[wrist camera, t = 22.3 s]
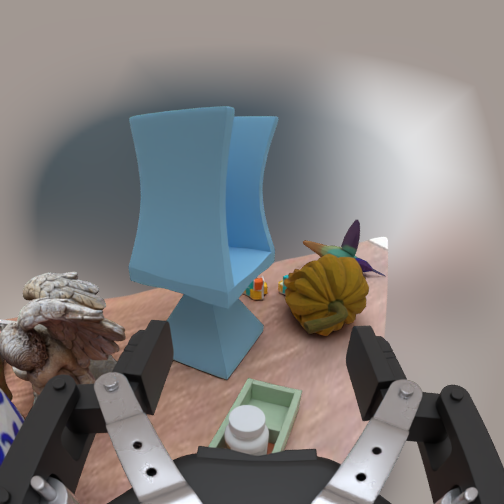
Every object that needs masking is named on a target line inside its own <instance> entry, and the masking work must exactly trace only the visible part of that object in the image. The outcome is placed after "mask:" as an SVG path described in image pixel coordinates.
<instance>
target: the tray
mask: <svg viewBox="0 0 504 504" xmlns="http://www.w3.org/2000/svg"><path fill="white" fill-rule="evenodd" d="M301 394H302V390H297V389H292V388H287V387H283V386H279V385H274V384H270V383H266V382H262V381H258V380H254V379H250V378H248V379H247V381H246V383H245V385H244V387H243V388H242V390H241V392H240V394H239V395H238V397H237V399H236V401H235V402H234V404H233V406H232V408H231V409H230V411H229V413H228V414H227V416H226V418H225V420H224V421H223V423H222V425H221V426H220V428H219V430H218V431H217V433H216V435H215V436H214V438H213V440H212V441H211V443H210V445H209V446H208V447H214V448H226V446H225V434H224V433H225V428H226V426H227V425H228V424H229V415H230V413H231V411H232V410H233V409H235V408H236V407H238V406H242V405H252V406H255V407H258V408H259V409H261V410H262V411H263V413H264V414H265V418H266V421H265V425H266V426H267V428H268V431H269V438H268V447H267V454H271V453H276V452H281V451H284V448H285V446H286V443H287V440H288V437H289V435H290V432H291V429H292V426H293V424H294V421H295V418H296V415H297V412H298V409H299V405H300V400H301Z"/></svg>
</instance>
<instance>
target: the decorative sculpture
mask: <svg viewBox="0 0 504 504" xmlns="http://www.w3.org/2000/svg"><path fill="white" fill-rule="evenodd" d="M359 236H360V223H359V221H358V220H355V221H354V223H353V224H352V225H351V227H350V228H349V230H348V232H347V233H346V235H345V237H344V240H343V243H342V246H341V247H342V248H341V247H337V246H327V245H323V244H319V243H315V242H311V241H306V240H305V241H303V244H304V245H305V246H307V247H308V248H310V249H311V250H312V251H314V252H315V253H316V254H318V255H319V256H320V257H323V256H324V255H326V254H332V255H334V256H336V257H337V258H339V257H351V258H355V259H356V261H357V262H358V264H359V265H360V267H361V269H362V272H369V271H373V272H375V273H378V274H381V275H383V274H382V273H380V272H378V271H376V270H374V269H373V268H372V267H371V266H370V265H369V264H368V262H367V261H365V260H362V259H360V258H357V257H356V256H355V254H356V251H357V248H358V243H359ZM383 276H385V275H383Z"/></svg>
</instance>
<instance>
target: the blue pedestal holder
mask: <svg viewBox="0 0 504 504" xmlns="http://www.w3.org/2000/svg"><path fill="white" fill-rule="evenodd" d="M129 120H130V126H131V131H132V136H133V140H134V144H135V149H136V155H137V161H138V168H139V175H140V188H141V204H140V217H139V223H138V229H137V234H136V239H135V244H134V248H133V252H132V256H131V260H130V264H129V273H130V280H131V281H134V282H137V283H140V284H144V285H147V286H153V287H159V288H165V289H168V290H172V291H175V292H179V293H182V294H184V295H183V296H182V298H181V299H180V301H179V302H178V304H177V306H176V307H175V309H174V310H173V312H172V313H171V315H170V316H169V318H168V320H167V321H168V322H169V324H170V330H171V337H172V343H173V349H174V356H173V360H175V361H178V362H180V363H183V364H185V365H188V366H191V367H193V368H196V369H198V370H201V371H204V372H207V373H209V374H212V375H215V376H218V377H220V378H223V379H226V380H227V379H228V378H229V377H230V375H231V374H232V373H233V371H234V370H235V369H236V367H237V366H238V365H239V363H240V362H241V361H242V359H243V358H244V357H245V355H246V354H247V352H248V351H249V350H250V348H251V347H252V346H253V344H254V343H255V341H256V340H257V339H258V337H259V336H260V335H261V333H262V332H263V326H264V325H263V324H262V323H261V322H260V321H259V320H258V319H257V318H256V317H255V316H254V315H253V314H252V313H251V311H250V310H249V309H248V308H247V307H246V306H245V305H244V304H243V303H242V302H241V301H240V300H239V299H238V298H239V297H240V296H241V295H242V293H243V292H244V291H245V290H246V288H247V287H248V286H249V285H250V283H251V282H252V281H253V280H254V279H255V278H256V277H257V276H258V275H259V274H261V273H262V272H264V271H265V270H266V269H268V268H269V267H270V266H271V264H272V263H273V262H274V259H275V257H274V256H275V248H274V245H273V243H272V239H271V236H270V233H269V230H268V226H267V222H266V218H265V212H264V206H263V193H262V185H263V177H264V169H265V164H266V159H267V155H268V151H269V148H270V144H271V141H272V138H273V135H274V132H275V129H276V126H277V123H278V117H275V116H247V117H234V108H233V107H228V106H221V107H207V108H194V109H184V110H175V111H166V112H158V113H151V114H144V115H138V116H133V117H130V119H129Z"/></svg>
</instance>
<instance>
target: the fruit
mask: <svg viewBox="0 0 504 504" xmlns="http://www.w3.org/2000/svg"><path fill="white" fill-rule="evenodd" d="M284 285H285V286H286V287H287V289H286V290H285V295H286V298H285V300H286V303H287V304H288V306H289V307H290V309H291V312H292V314H293V315H294V316H295V318H296V319H297V320H298V321H299V322H300V323H301V325H302V326H303V328H304V329H305V330H306V331H307V332H308V333H309V334H312V333H315V332H316V333H317V334H320V335H324V336H328V335H329V334H330V333H331V332H332V331H333V330H335V331H337V330H340V329H341V328H342V326H343V324H344V323H345V324H350V323H353V322H354V321H355V319H356V314H359V313H361V312H362V311H363V310H364V308H365V307H366V297H365V296H366V295H367V294H368V292H369V287H368V284H367V282H366V279H365V277H364V276H363V275H362V269H361V267H360V265H359V264H358V262H357V261H356V259H355V258H351V257H339V258H337V257H336V256H334V255H332V254H326V255H324V256H323V257H321V258H319V259H318V260H317V261H315V260H314V261H311V262H309V263H307V264H306V265H304V266H303V267H302V268H301V270H299V269H295V270H294V272H293V273H289V275H288V278H286V279H285V280H284Z"/></svg>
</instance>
